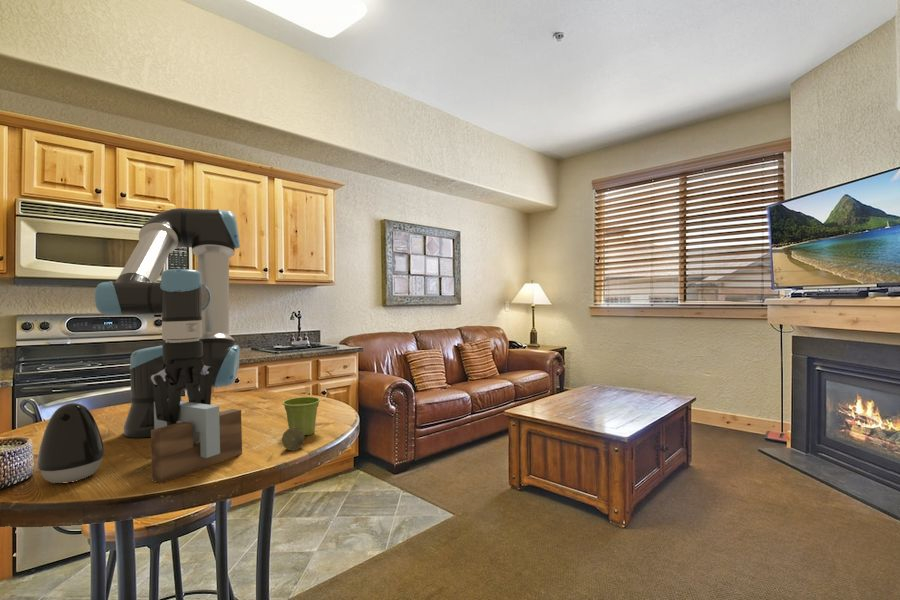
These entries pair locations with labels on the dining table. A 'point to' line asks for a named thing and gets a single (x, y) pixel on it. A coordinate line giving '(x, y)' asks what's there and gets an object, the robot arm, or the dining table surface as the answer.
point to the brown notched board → (192, 447)
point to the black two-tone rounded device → (70, 445)
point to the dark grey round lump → (293, 439)
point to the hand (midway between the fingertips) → (185, 448)
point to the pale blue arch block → (199, 425)
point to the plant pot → (302, 413)
